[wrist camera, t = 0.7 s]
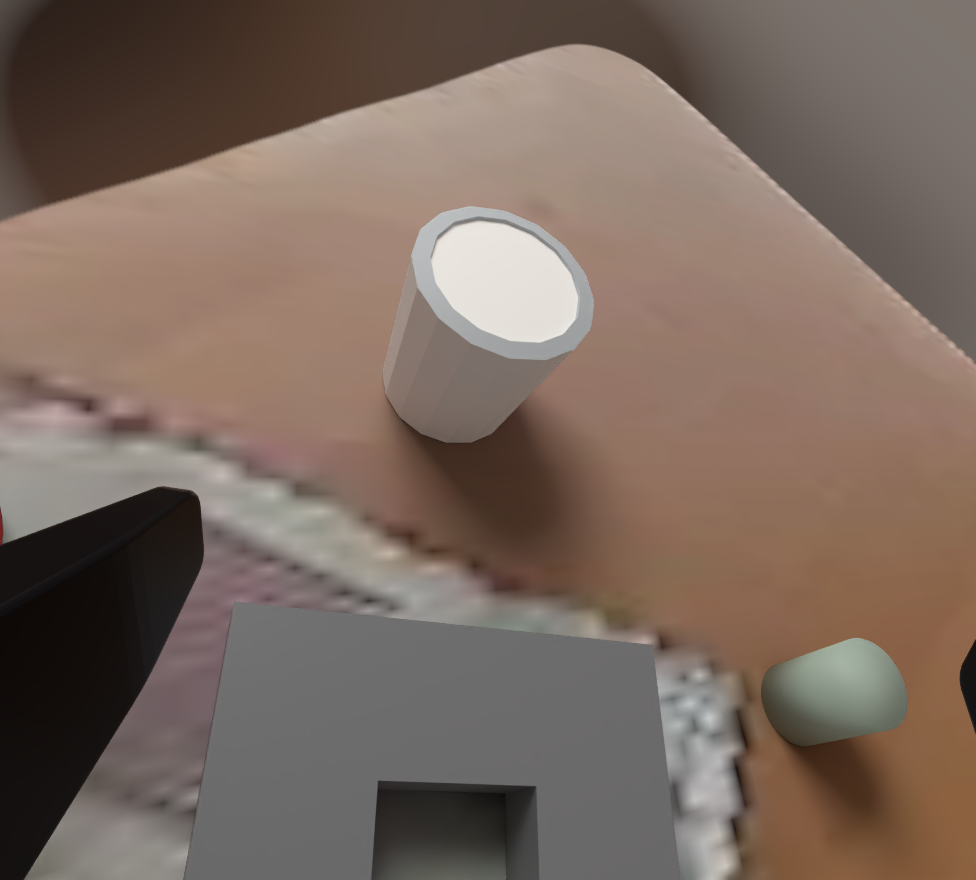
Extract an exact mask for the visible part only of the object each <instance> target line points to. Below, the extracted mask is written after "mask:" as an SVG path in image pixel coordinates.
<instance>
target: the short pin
mask: <svg viewBox="0 0 976 880" xmlns="http://www.w3.org/2000/svg"><path fill="white" fill-rule="evenodd" d="M761 698H762V703H763V707H764V710H765V713H766V715H767V718H768V719H769V721H770V723H771V724H772V726H773V727H774V729H775V730H776V731H777V732H778V733H779V734H780V735H781V736H782V737H783V738H784V739H786V740H787V741H789V742H791V743H793V744H795V745H798V746H812V745H817V744H822V743H827V742H832V741H837V740H842V739H847V738H852V737H856V736H861V735H866V734H871V733H876V732H881V731H886V730H891V729H894V728H896V727H897V726H899V725H900V724H901V723H902V721H903V720H904V718H905V715H906V712H907V706H908V698H907V691H906V687H905V684H904V681H903V678H902V676H901V674H900V672H899V670H898V668H897V667H896V665H895V663H894V662H893V661H892V659H891V658H890V657H889V656H888V655H887V654H886V653H885V652H884V651H883V650H882V649H881V648H880V647H878V646H877V645H875V644H874V643H872V642H870V641H868V640H865V639H861V638H852V639H849V640H846V641H843V642H840V643H837V644H834V645H831V646H828V647H826V648H823V649H820V650H817V651H814V652H811V653H808V654H806V655H803V656H800V657H797V658H794V659H791V660H788V661H785V662H783V663H780V664H777V665H774V666H773V667H771V668H770V669H769V670H768V671H767V672H766V674H765V676H764V678H763V681H762V685H761Z"/></svg>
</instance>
